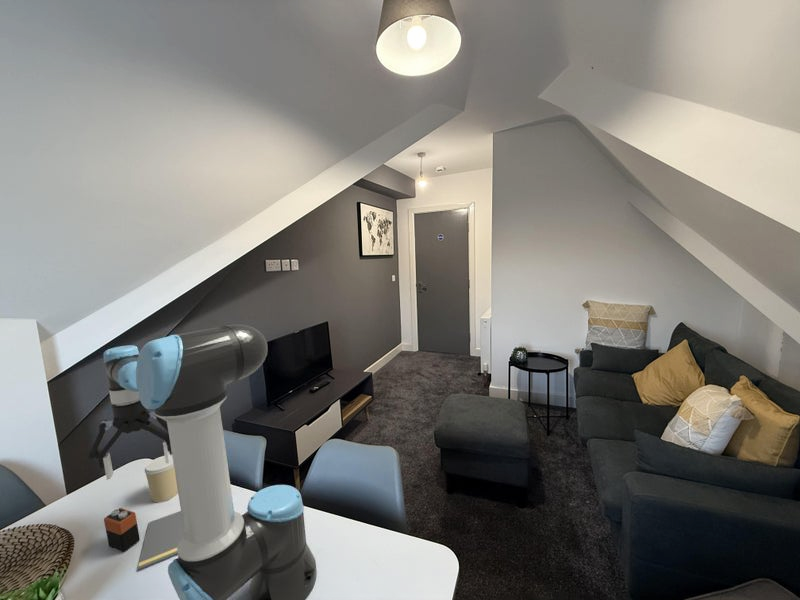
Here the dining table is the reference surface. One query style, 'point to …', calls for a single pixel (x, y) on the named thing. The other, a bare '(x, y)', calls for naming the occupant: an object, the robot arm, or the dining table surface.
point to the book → (161, 540)
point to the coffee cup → (161, 479)
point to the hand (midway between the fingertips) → (140, 468)
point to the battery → (121, 529)
